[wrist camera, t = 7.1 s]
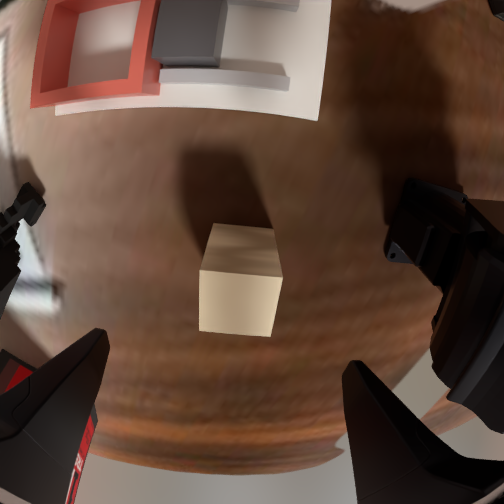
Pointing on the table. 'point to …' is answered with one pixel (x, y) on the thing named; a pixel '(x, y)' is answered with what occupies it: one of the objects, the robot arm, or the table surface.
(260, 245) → the block
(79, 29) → the slide switch base
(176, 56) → the toggle
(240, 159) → the table surface
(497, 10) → the ink cartridge
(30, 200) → the security camera
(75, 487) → the cleaning product box
